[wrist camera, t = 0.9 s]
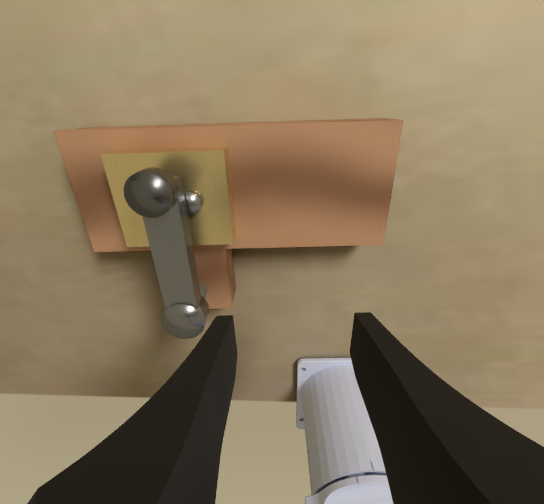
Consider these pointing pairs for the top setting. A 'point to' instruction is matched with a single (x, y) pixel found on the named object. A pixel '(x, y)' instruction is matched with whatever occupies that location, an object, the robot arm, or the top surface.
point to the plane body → (256, 185)
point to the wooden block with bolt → (196, 185)
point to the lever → (169, 248)
